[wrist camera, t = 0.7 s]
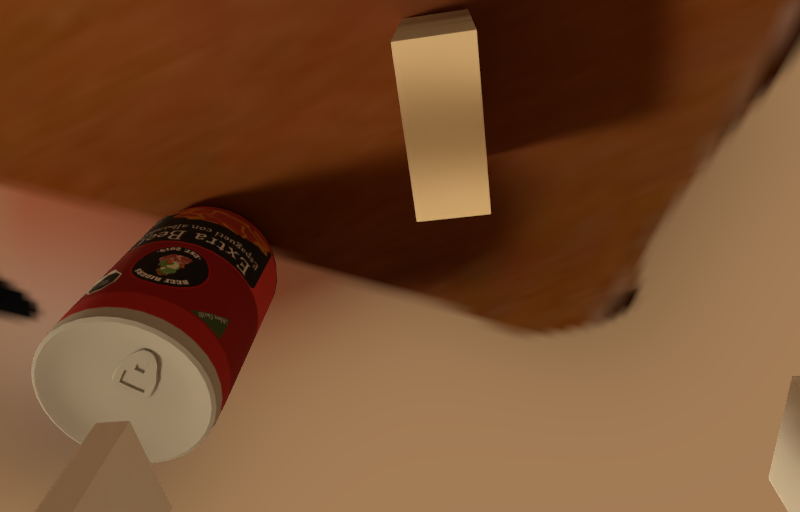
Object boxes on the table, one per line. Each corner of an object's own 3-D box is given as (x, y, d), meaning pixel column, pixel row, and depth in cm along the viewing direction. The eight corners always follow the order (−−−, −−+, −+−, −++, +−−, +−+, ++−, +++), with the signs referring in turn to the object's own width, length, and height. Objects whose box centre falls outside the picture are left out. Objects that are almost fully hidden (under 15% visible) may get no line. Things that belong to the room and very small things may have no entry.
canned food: (291, 221, 32) (228, 344, 22) (269, 335, 36) (206, 483, 26) (151, 183, 31) (23, 293, 22) (143, 304, 35) (31, 443, 25)
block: (402, 18, 27) (390, 41, 20) (468, 8, 26) (476, 29, 20) (421, 164, 30) (416, 222, 24) (480, 157, 30) (491, 214, 23)
